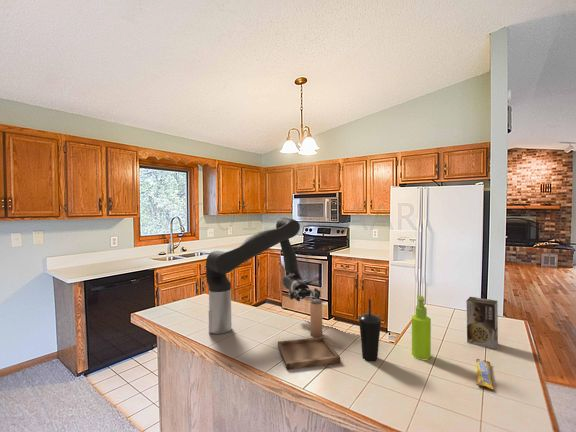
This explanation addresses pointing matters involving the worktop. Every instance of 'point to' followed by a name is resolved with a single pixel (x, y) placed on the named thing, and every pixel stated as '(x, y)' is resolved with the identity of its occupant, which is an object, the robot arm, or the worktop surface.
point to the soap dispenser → (421, 332)
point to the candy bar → (484, 374)
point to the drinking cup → (369, 334)
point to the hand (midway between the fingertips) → (308, 298)
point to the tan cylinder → (316, 318)
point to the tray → (307, 353)
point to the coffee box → (482, 322)
